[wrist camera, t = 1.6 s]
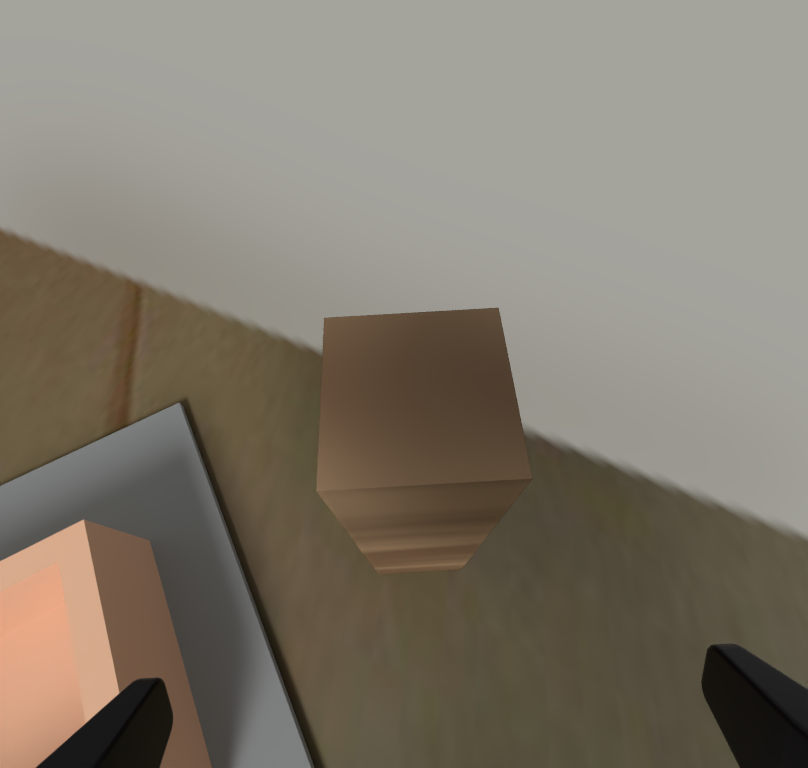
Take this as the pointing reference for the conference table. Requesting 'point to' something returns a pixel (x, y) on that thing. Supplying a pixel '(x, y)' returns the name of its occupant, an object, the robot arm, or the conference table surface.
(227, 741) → the mat
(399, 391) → the square wooden post
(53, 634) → the peach square bin
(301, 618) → the conference table surface
